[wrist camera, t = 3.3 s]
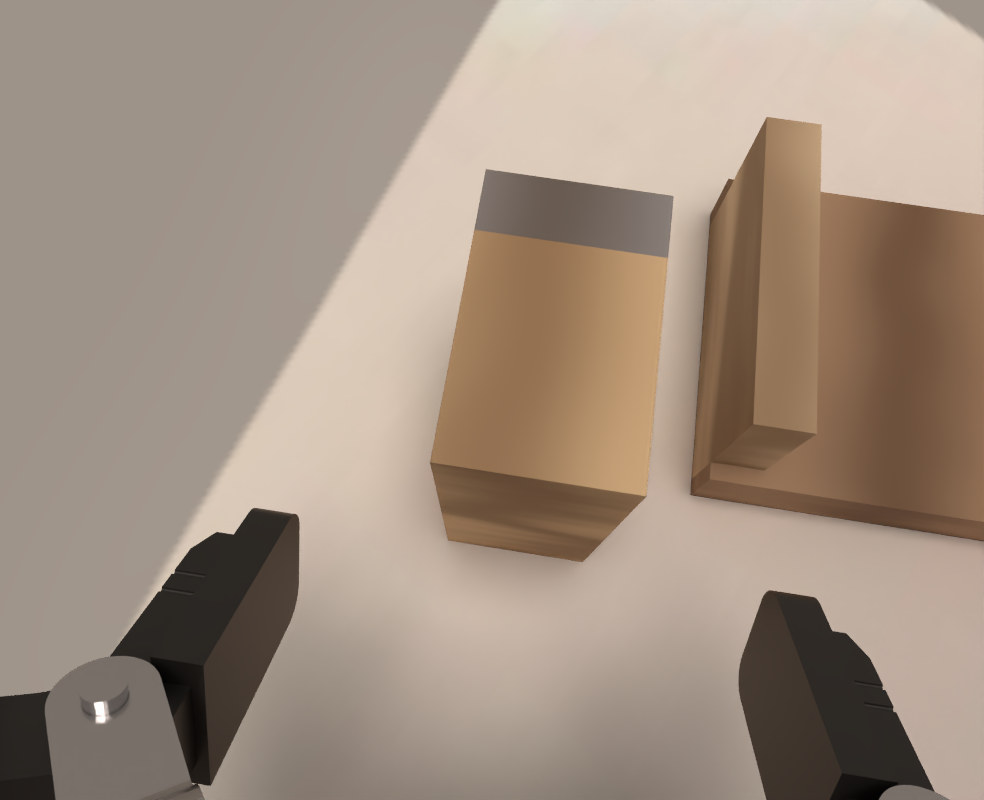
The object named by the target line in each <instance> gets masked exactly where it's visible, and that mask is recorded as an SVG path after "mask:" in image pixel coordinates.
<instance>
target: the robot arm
mask: <svg viewBox="0 0 984 800" xmlns="http://www.w3.org/2000/svg"><path fill="white" fill-rule="evenodd" d="M298 586H299V518H298V516H297V515H296V514H290V513H284V512H278V511H271V510H265V509H259V508H253V509H252V510H251V511H250V512H249V513H248V515H247V516H246V518H245V519H244V521H243V522H242V523H241V525H240V526H239V528H238V529H237V531H236V532H235V534H234V535H232V534H226V533H219V532H216V533H214V534H213V535H211V536H210V537H208V538H207V539H205V540H204V541H202V542H200V543H199V544H197V545H196V546H194V547H193V548H191V549H190V550H189V552H188V553H187V554H186V556H185V557H184V558H183V560H182V561H181V562H180V564H179V565H178V566H177V568H176V569H175V573H174V574H171V576H170V577H169V578H168V580H167V581H166V582H165V584H164V585H163V586H162V590H161V592H158V593H157V594H156V596H155V597H154V598H153V600H152V601H151V602H150V604H149V605H148V606H147V608H146V609H145V610H144V612H143V613H142V614H141V616H140V617H139V618H138V620H137V621H136V622H135V624H134V625H133V626H132V628H131V629H130V630H129V632H128V633H127V634H126V636H125V637H124V638H123V640H122V641H121V642H120V644H119V645H118V646H117V648H116V649H115V650H114V652H113V653H112V654H111V656H110V657H105V658H101V659H97V660H94V661H91V662H88V663H86V664H84V665H81V666H79V667H77V668H76V669H74V670H72V671H71V672H69V673H68V674H67V675H65V676H64V677H63V678H62V679H61V680H60V681H59V682H58V683H57V684H56V685H55V686H54V688H53V689H52V690H51V691H47V692H41V693H34V694H24V695H14V696H4V697H0V800H204V797H203V794H202V792H201V789H200V787H199V785H198V784H203V785H208V786H211V784H212V782H213V780H214V778H215V776H216V774H217V771H218V769H219V767H220V765H221V763H222V761H223V759H224V757H225V755H226V753H227V751H228V749H229V747H230V745H231V743H232V741H233V739H234V736H235V734H236V732H237V730H238V728H239V726H240V724H241V722H242V720H243V718H244V716H245V714H246V712H247V710H248V708H249V706H250V704H251V701H252V699H253V697H254V695H255V693H256V691H257V689H258V687H259V685H260V683H261V681H262V679H263V677H264V675H265V673H266V671H267V668H268V666H269V664H270V662H271V660H272V658H273V656H274V654H275V652H276V650H277V648H278V646H279V644H280V642H281V640H282V638H283V636H284V633H285V631H286V629H287V627H288V625H289V623H290V621H291V618H292V616H293V612H294V609H295V605H296V601H297V595H298ZM882 686H883V684H882V682H881V680H880V678H879V676H878V674H877V672H876V670H875V668H874V666H873V664H872V662H871V660H870V658H869V657H868V656H867V655H866V654H865V653H864V652H863V651H862V650H861V649H860V648H859V646H858V645H857V644H856V643H855V642H854V641H853V640H852V639H851V638H850V637H849V636H848V635H847V634H846V633H840V632H834V631H832V630H831V628H830V625H829V623H828V621H827V619H826V616H825V614H824V612H823V610H822V607H821V605H820V603H819V601H818V600H817V599H816V598H814V597H809V596H803V595H796V594H790V593H784V592H777V591H771V590H770V591H767V592H766V593H765V595H764V596H763V598H762V601H761V604H760V607H759V609H758V612H757V615H756V618H755V621H754V624H753V627H752V629H751V632H750V635H749V638H748V641H747V644H746V647H745V649H744V652H743V655H742V658H741V662H740V668H739V694H740V699H741V703H742V706H743V710H744V714H745V718H746V722H747V726H748V730H749V734H750V738H751V741H752V745H753V749H754V753H755V757H756V761H757V765H758V769H759V772H760V776H761V780H762V784H763V788H764V792H765V796H766V800H949V799H947V798H945V797H943V796H942V795H940V794H938V793H935V792H934V790H933V787H932V785H931V783H930V781H929V779H928V777H927V775H926V773H925V771H924V769H923V767H922V765H921V763H920V761H919V759H918V757H917V754H916V752H915V750H914V748H913V746H912V744H911V742H910V740H909V738H908V736H907V734H906V732H905V730H904V728H903V726H902V724H901V721H900V719H899V717H898V715H897V713H896V712H893V705H892V703H891V701H890V699H889V697H888V695H887V693H886V691H885V690H883V689H882ZM192 783H197V784H195V785H193V784H192Z"/></svg>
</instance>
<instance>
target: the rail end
mask: <svg viewBox="0 0 984 800" xmlns="http://www.w3.org/2000/svg"><path fill="white" fill-rule="evenodd" d="M672 207H673V196H669V195H662V194H655V193H648V192H641V191H634V190H627V189H620V188H613V187H606V186H599V185H592V184H585V183H578V182H571V181H564V180H557V179H550V178H543V177H536V176H529V175H522V174H515V173H508V172H501V171H494V170H487V169H486V172H485V177H484V182H483V187H482V193H481V198H480V203H479V209H478V214H477V219H476V224H475V230H474V235H473V240H472V245H471V251H470V256H469V261H468V266H467V272H466V277H465V282H464V287H463V293H462V298H461V303H460V308H459V314H458V319H457V324H456V329H455V335H454V340H453V345H452V350H451V356H450V361H449V366H448V371H447V377H446V382H445V387H444V392H443V398H442V403H441V408H440V413H439V419H438V424H437V429H436V434H435V440H434V445H433V450H432V455H431V461H430V464H431V468H432V472H433V476H434V481H435V485H436V489H437V494H438V498H439V502H440V507H441V511H442V515H443V519H444V524H445V528H446V532H447V537H448V540H450V541H456V542H462V543H468V544H475V545H481V546H487V547H493V548H499V549H506V550H512V551H518V552H524V553H530V554H537V555H543V556H549V557H555V558H561V559H568V560H574V561H580V562H583V561H584V560H585V559H586V558H587V557H588V556H589V555H590V554H591V553H592V552H593V551H594V550H595V549H596V548H597V547H598V546H599V544H600V543H601V542H602V541H603V540H604V539H605V538H606V537H607V536H608V535H609V534H610V533H611V532H612V531H613V530H614V529H615V528H616V527H617V526H618V525H619V524H620V523H621V522H622V521H623V520H624V519H625V518H626V517H627V516H628V515H629V514H630V512H631V511H632V510H633V509H634V508H635V507H636V506H637V505H638V504H639V503H640V502H641V501H642V500H643V499H644V498H645V497H646V493H647V482H648V471H649V460H650V449H651V438H652V427H653V416H654V405H655V394H656V383H657V372H658V361H659V350H660V339H661V328H662V317H663V306H664V295H665V284H666V273H667V262H668V251H669V240H670V229H671V218H672Z"/></svg>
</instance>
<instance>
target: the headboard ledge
mask: <svg viewBox="0 0 984 800" xmlns="http://www.w3.org/2000/svg"><path fill="white" fill-rule="evenodd" d="M820 186H821V125H820V124H813V123H806V122H798V121H791V120H784V119H777V118H770V117H767V118H766V120H765V122H764V124H763V125H762V127H761V129H760V131H759V133H758V135H757V137H756V139H755V141H754V143H753V145H752V147H751V148H750V150H749V152H748V154H747V156H746V158H745V160H744V162H743V164H742V166H741V168H740V170H739V171H738V173H737V175H736V177H735V179H734V180H732V179H728V181H727V183H726V185H725V187H724V189H723V191H722V193H721V195H720V197H719V199H718V201H717V203H716V205H715V207H714V209H713V210H712V212H711V217H710V231H709V245H708V259H707V273H706V287H705V301H704V316H703V330H702V344H701V358H700V372H699V386H698V400H697V414H696V428H695V442H694V457H693V471H692V485H691V495H695V496H701V497H708V498H714V499H720V500H727V501H733V502H740V503H746V504H752V505H759V506H765V507H771V508H778V509H784V510H790V511H797V512H803V513H810V514H816V515H822V516H829V517H835V518H841V519H848V520H854V521H860V522H867V523H873V524H880V525H886V526H892V527H899V528H905V529H911V530H918V531H924V532H931V533H937V534H943V535H950V536H956V537H962V538H969V539H975V540H981V541H984V215H979V214H972V213H965V212H958V211H951V210H944V209H937V208H930V207H923V206H916V205H909V204H902V203H895V202H887V201H880V200H873V199H866V198H859V197H852V196H845V195H838V194H831V193H824V192H820Z"/></svg>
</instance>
